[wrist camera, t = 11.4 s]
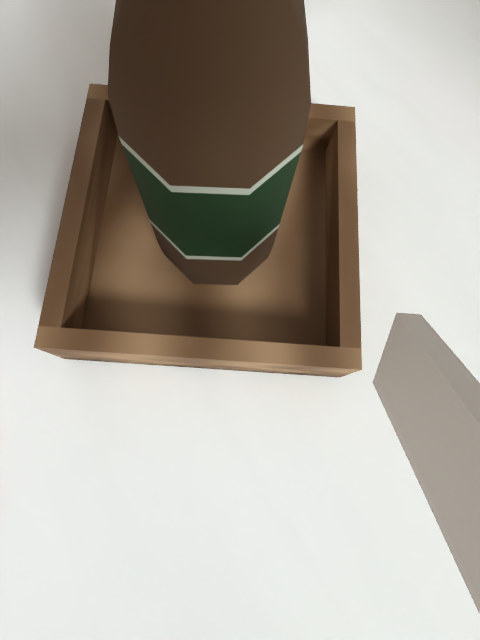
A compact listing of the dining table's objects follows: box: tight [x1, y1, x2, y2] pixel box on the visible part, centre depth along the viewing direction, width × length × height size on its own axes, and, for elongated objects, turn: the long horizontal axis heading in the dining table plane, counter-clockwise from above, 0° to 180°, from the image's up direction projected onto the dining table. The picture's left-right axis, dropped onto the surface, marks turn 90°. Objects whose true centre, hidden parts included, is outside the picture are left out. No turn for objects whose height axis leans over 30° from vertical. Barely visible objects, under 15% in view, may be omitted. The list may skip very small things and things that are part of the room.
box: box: [34, 84, 362, 377], centre depth 24 cm, size 18×18×4 cm
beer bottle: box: [108, 0, 311, 285], centre depth 14 cm, size 8×8×24 cm
